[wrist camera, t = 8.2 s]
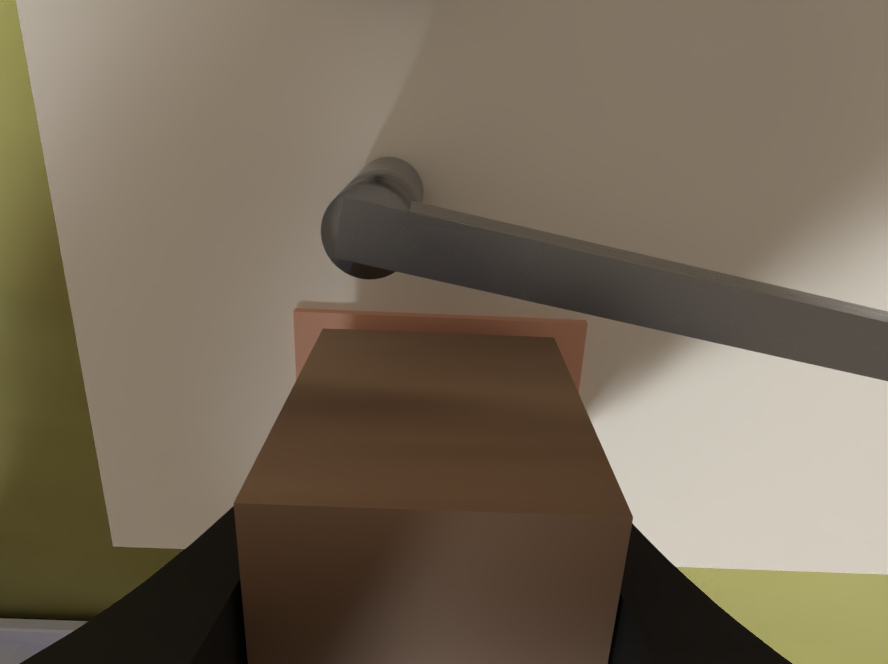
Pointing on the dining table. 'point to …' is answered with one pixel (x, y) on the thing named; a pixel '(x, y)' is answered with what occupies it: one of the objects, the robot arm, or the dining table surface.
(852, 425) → the board
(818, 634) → the dining table surface
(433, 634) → the walnut block
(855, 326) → the bent wire
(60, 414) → the dining table surface
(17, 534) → the dining table surface
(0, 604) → the dining table surface
